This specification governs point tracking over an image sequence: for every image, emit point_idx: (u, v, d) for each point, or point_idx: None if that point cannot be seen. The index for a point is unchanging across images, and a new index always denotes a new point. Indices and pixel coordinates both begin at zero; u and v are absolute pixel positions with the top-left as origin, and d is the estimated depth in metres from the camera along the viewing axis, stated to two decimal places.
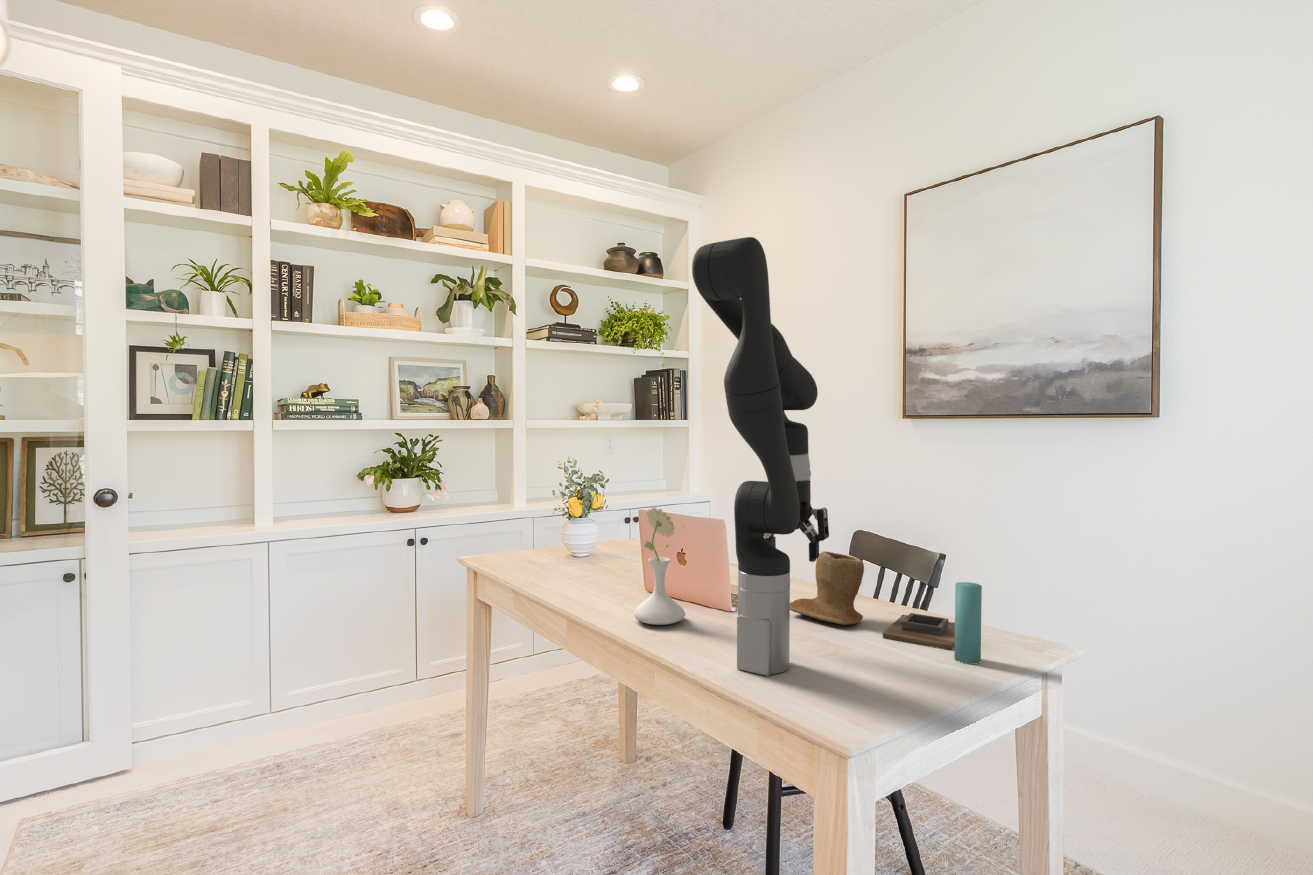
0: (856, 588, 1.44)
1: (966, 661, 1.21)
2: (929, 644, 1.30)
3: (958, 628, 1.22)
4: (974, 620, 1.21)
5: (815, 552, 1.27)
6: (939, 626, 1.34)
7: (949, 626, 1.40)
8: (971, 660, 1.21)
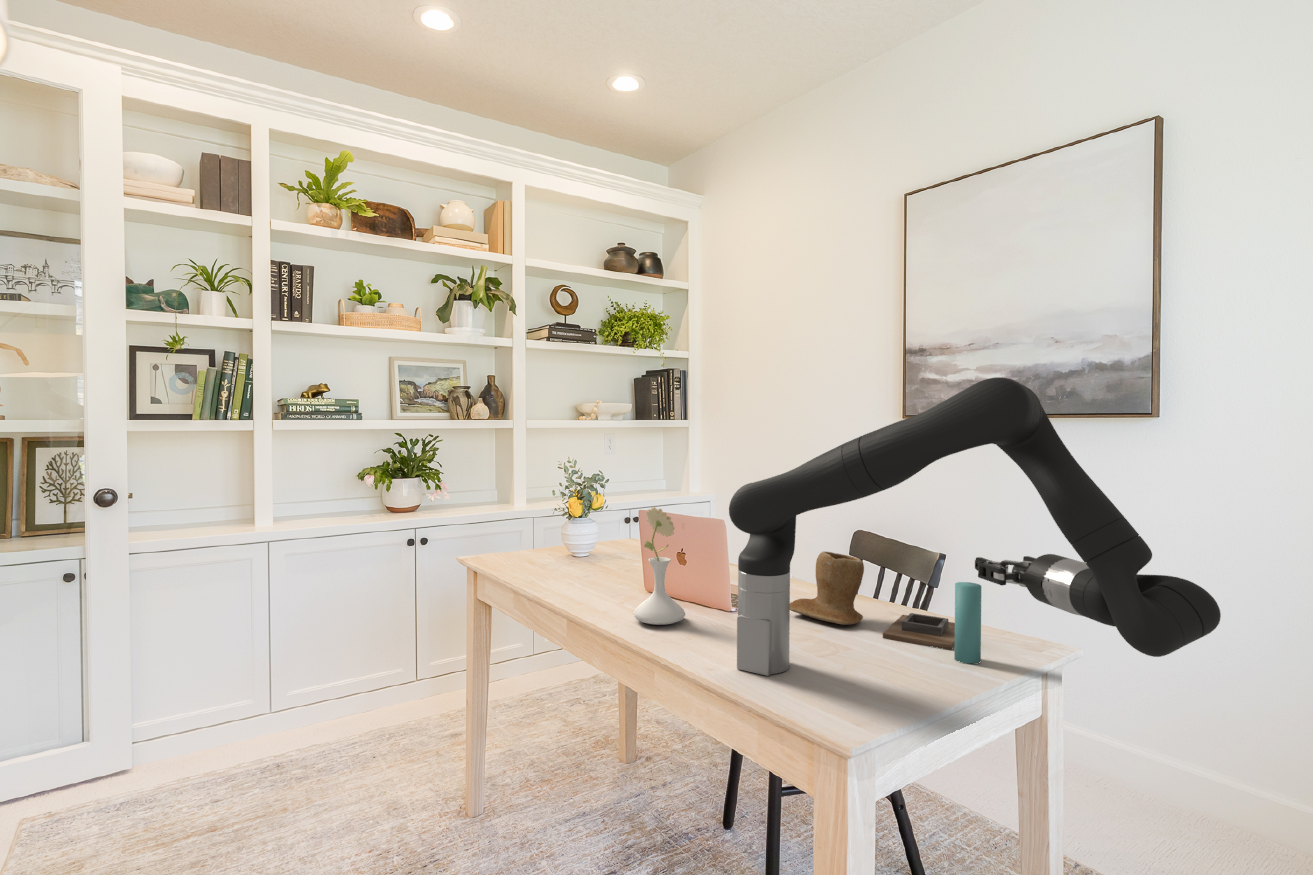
0: (856, 588, 1.44)
1: (966, 661, 1.21)
2: (929, 644, 1.30)
3: (958, 627, 1.22)
4: (974, 620, 1.21)
5: (979, 561, 1.10)
6: (939, 626, 1.34)
7: (949, 626, 1.40)
8: (971, 660, 1.21)
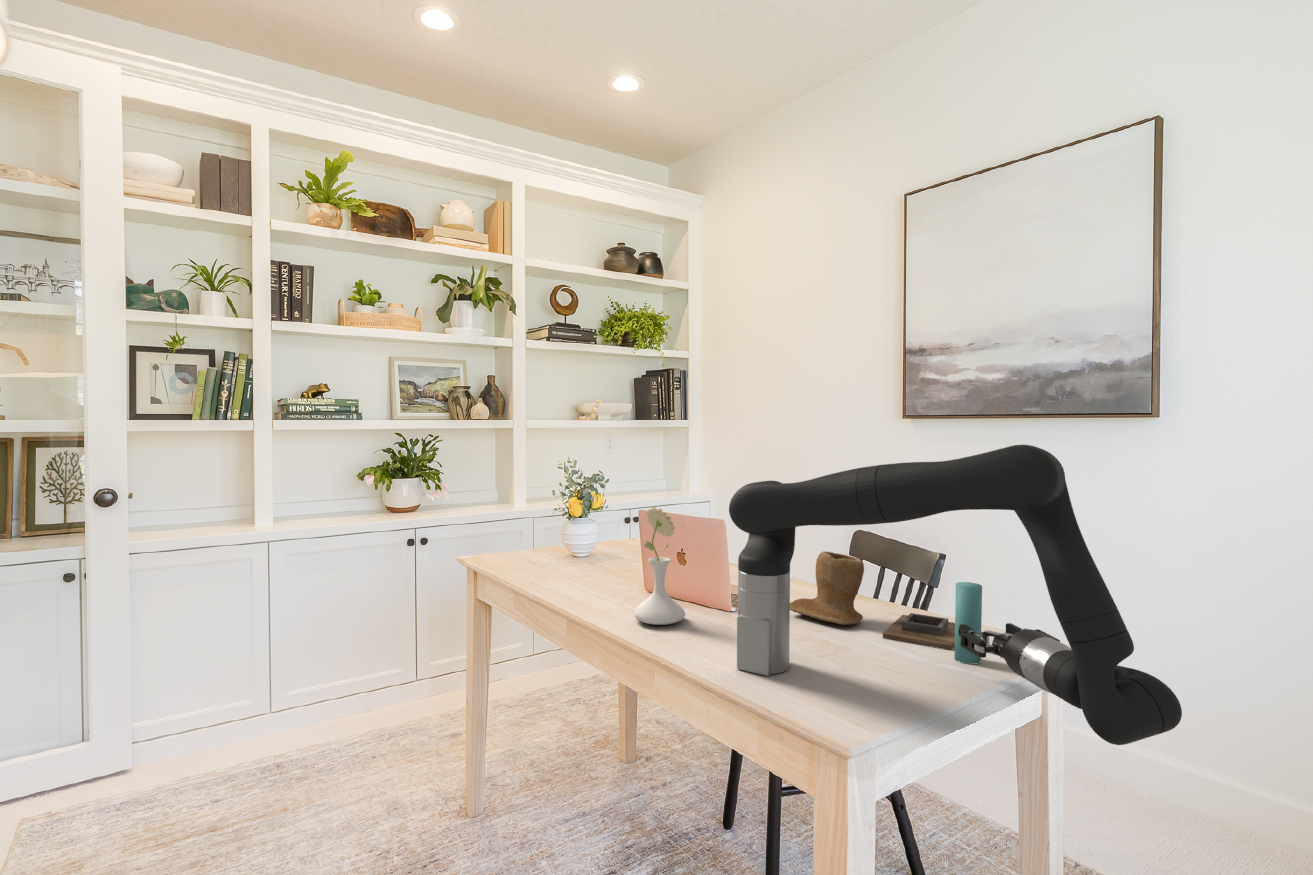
0: (856, 588, 1.44)
1: (966, 661, 1.21)
2: (929, 644, 1.30)
3: (958, 628, 1.22)
4: (974, 620, 1.21)
5: (962, 629, 1.15)
6: (939, 626, 1.34)
7: (949, 626, 1.40)
8: (971, 660, 1.21)
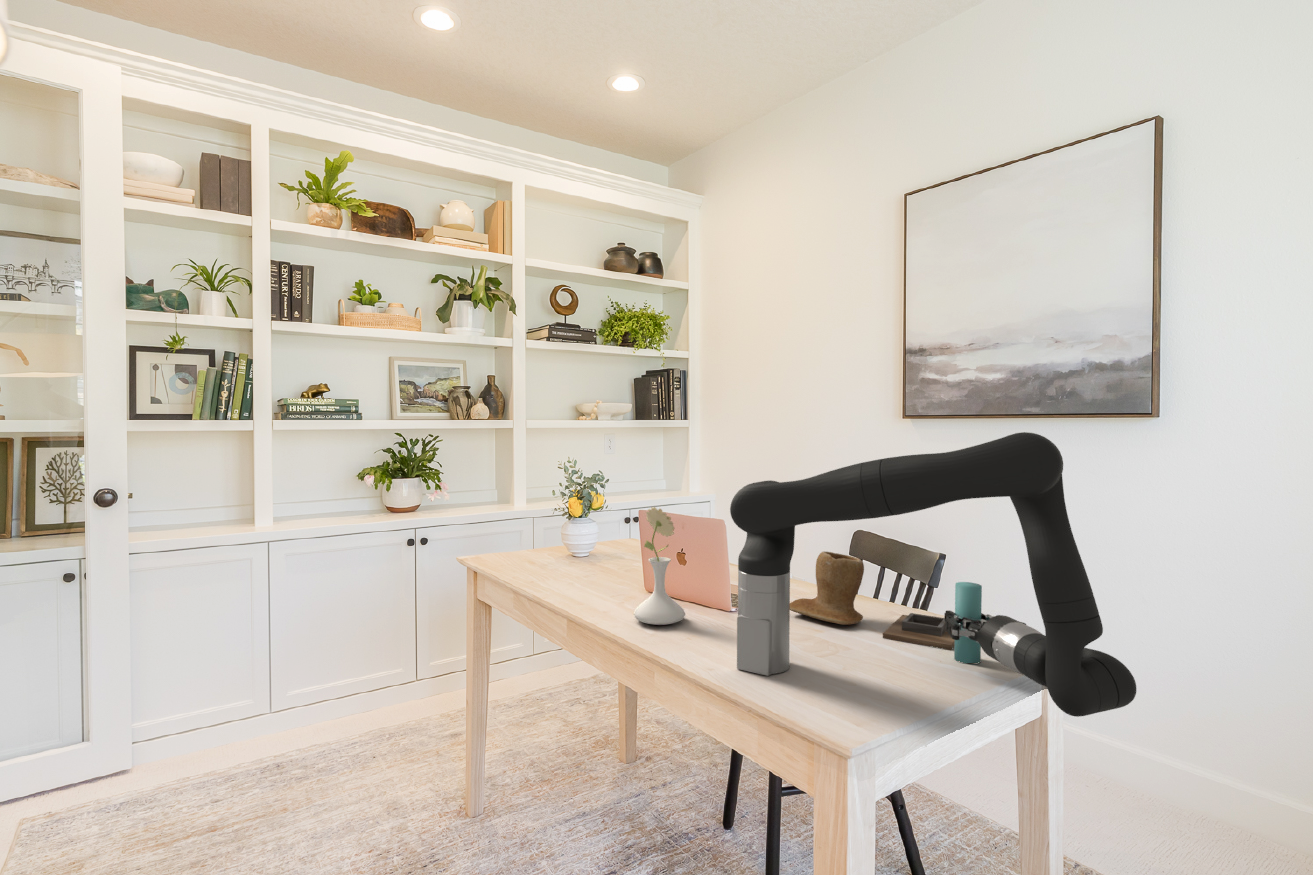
0: (856, 588, 1.44)
1: (966, 661, 1.21)
2: (929, 644, 1.30)
3: None
4: None
5: (948, 615, 1.23)
6: (939, 626, 1.34)
7: None
8: (971, 660, 1.21)
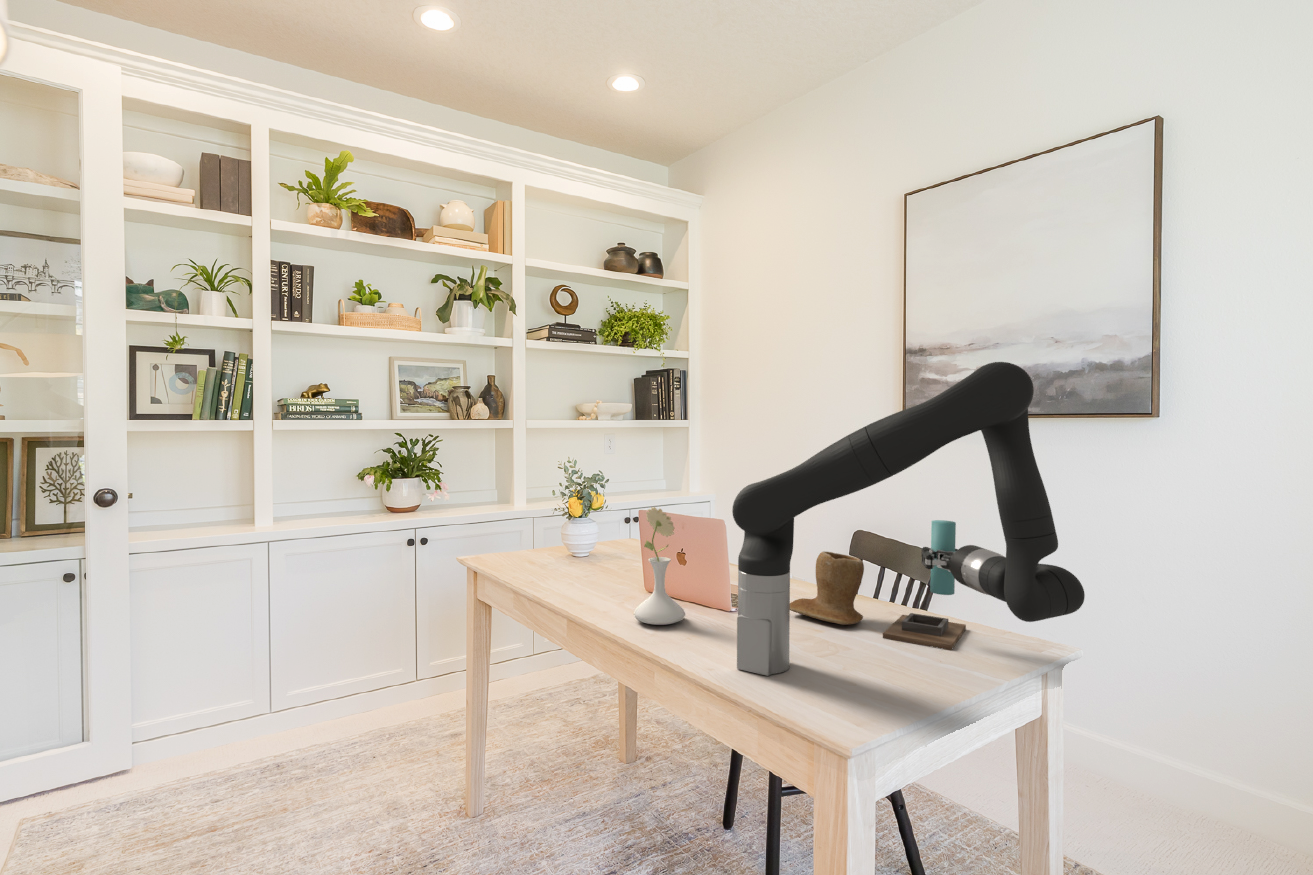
0: (856, 588, 1.44)
1: (940, 592, 1.30)
2: (929, 644, 1.30)
3: None
4: None
5: (924, 550, 1.32)
6: (939, 626, 1.34)
7: (949, 626, 1.40)
8: (945, 591, 1.30)
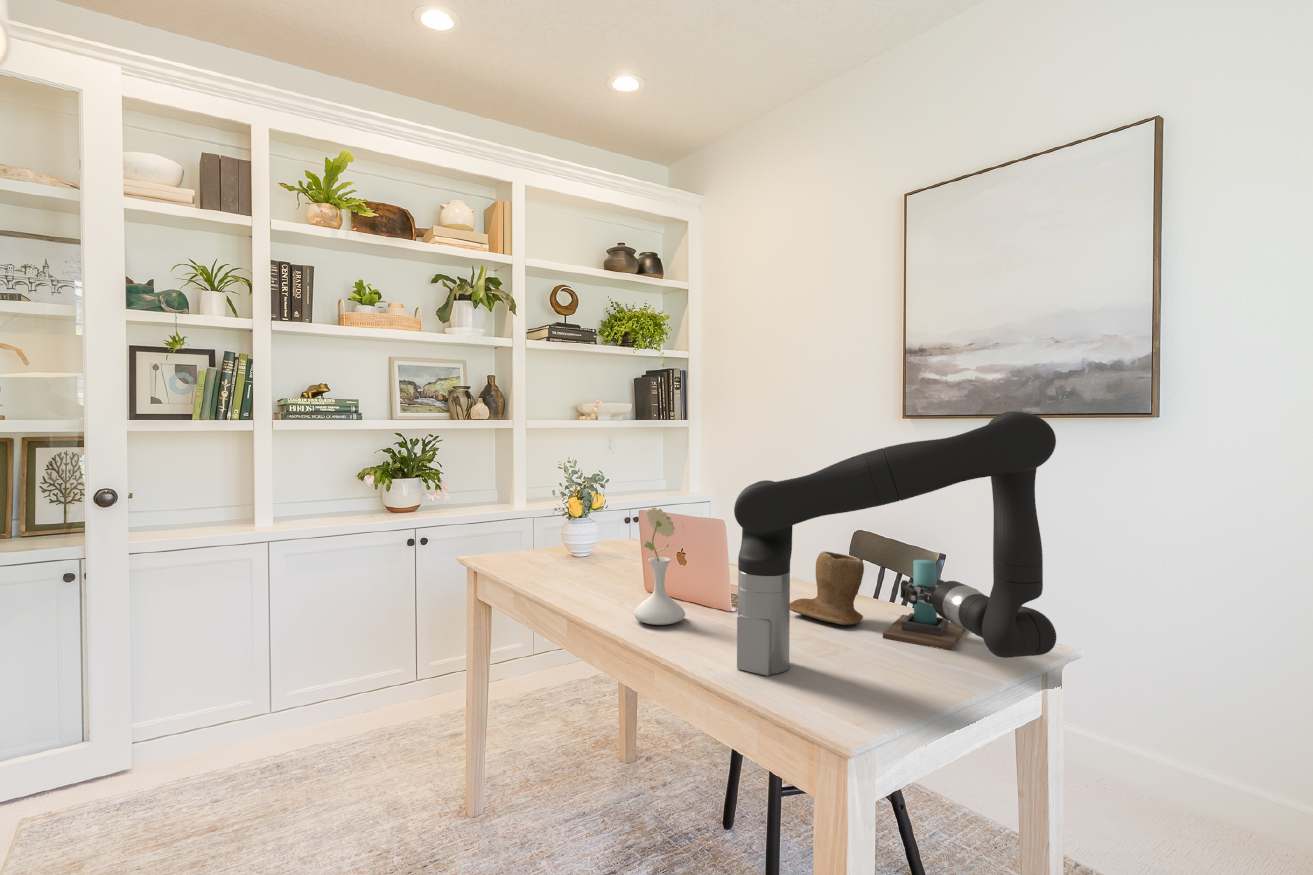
0: (856, 588, 1.44)
1: None
2: (929, 644, 1.30)
3: None
4: None
5: (903, 583, 1.38)
6: (939, 626, 1.34)
7: (949, 626, 1.40)
8: None
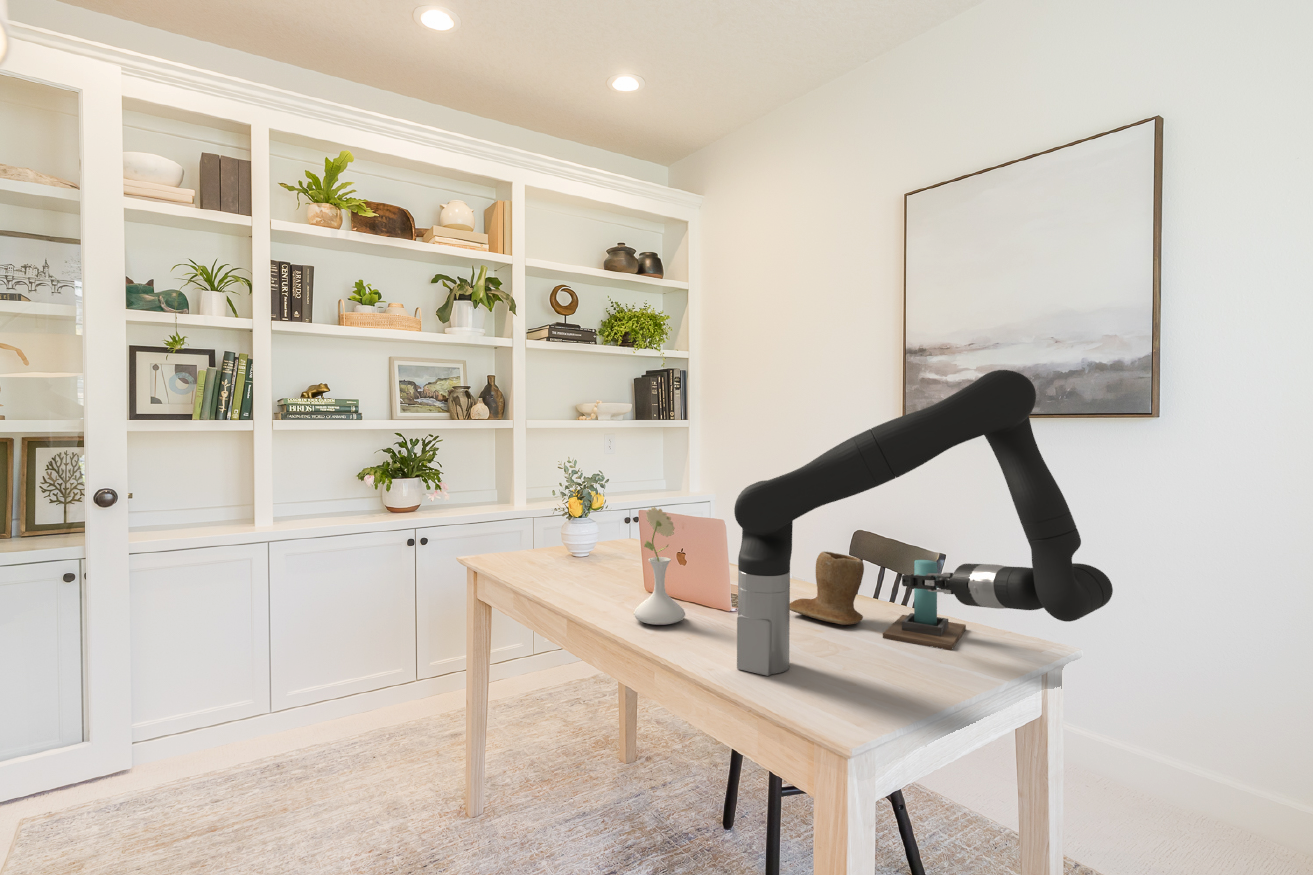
0: (856, 588, 1.44)
1: None
2: (929, 644, 1.30)
3: (917, 600, 1.38)
4: (930, 593, 1.36)
5: (906, 577, 1.29)
6: (939, 626, 1.34)
7: (949, 626, 1.40)
8: None
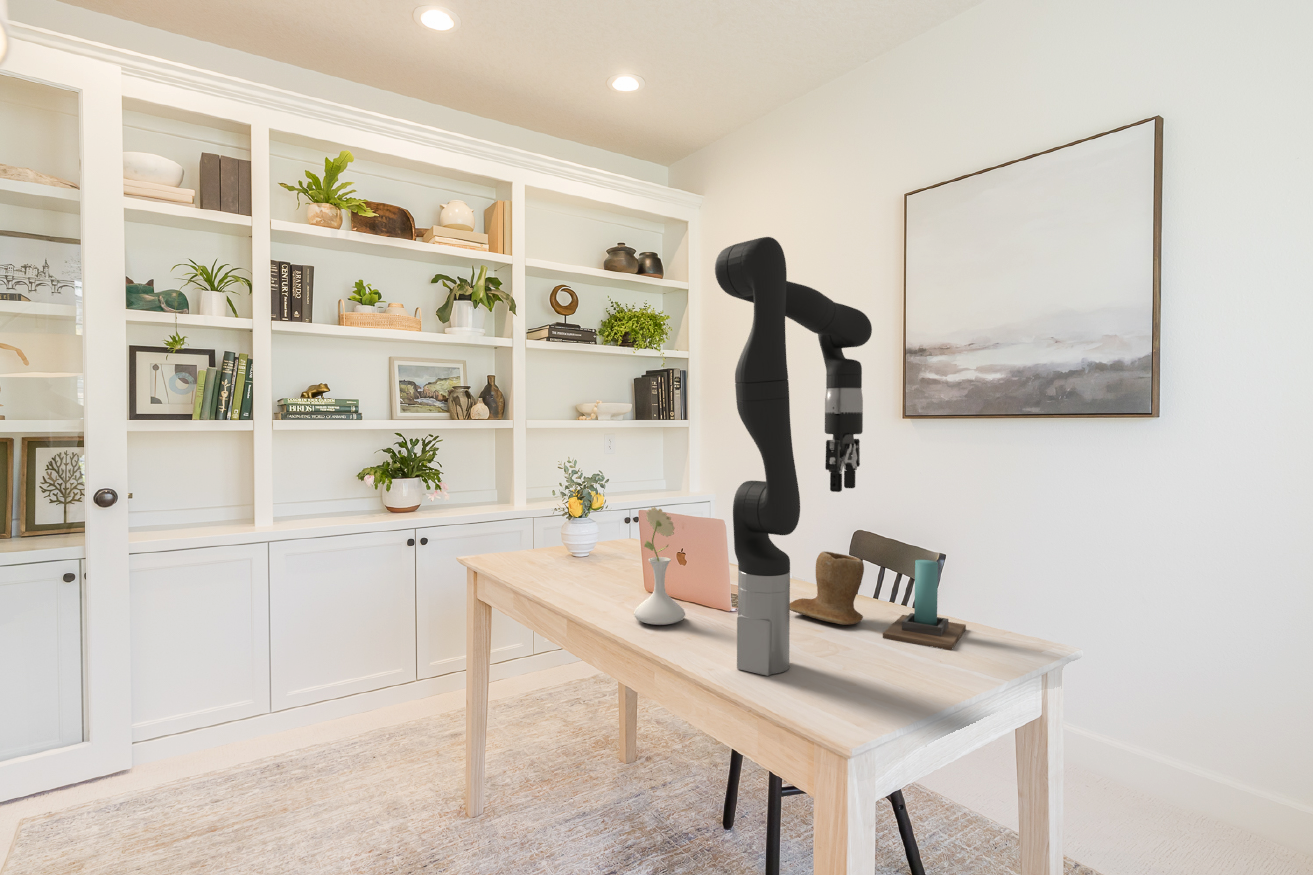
0: (856, 588, 1.44)
1: None
2: (929, 644, 1.30)
3: (917, 599, 1.38)
4: (930, 593, 1.36)
5: None
6: (939, 626, 1.34)
7: (949, 626, 1.40)
8: None
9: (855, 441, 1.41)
